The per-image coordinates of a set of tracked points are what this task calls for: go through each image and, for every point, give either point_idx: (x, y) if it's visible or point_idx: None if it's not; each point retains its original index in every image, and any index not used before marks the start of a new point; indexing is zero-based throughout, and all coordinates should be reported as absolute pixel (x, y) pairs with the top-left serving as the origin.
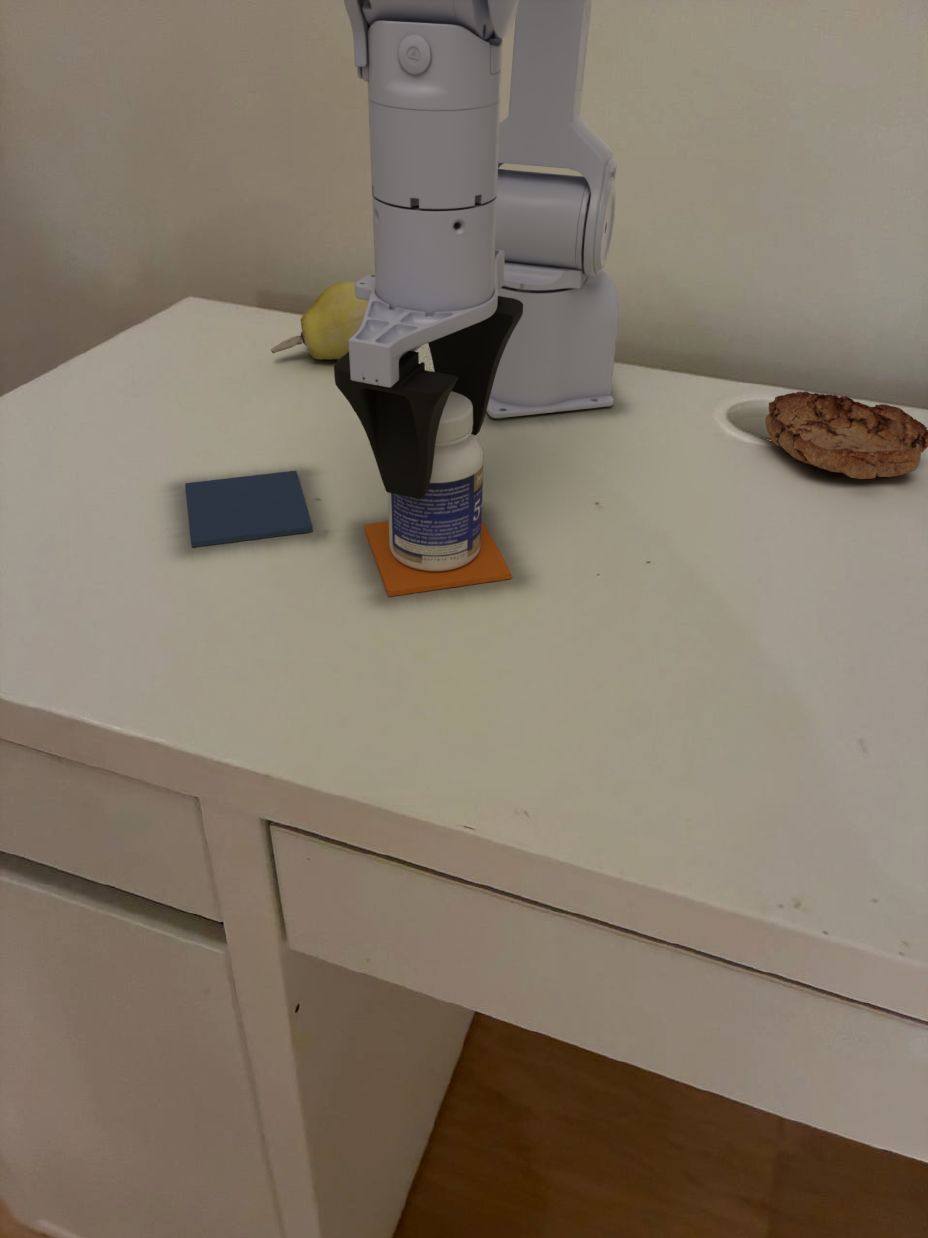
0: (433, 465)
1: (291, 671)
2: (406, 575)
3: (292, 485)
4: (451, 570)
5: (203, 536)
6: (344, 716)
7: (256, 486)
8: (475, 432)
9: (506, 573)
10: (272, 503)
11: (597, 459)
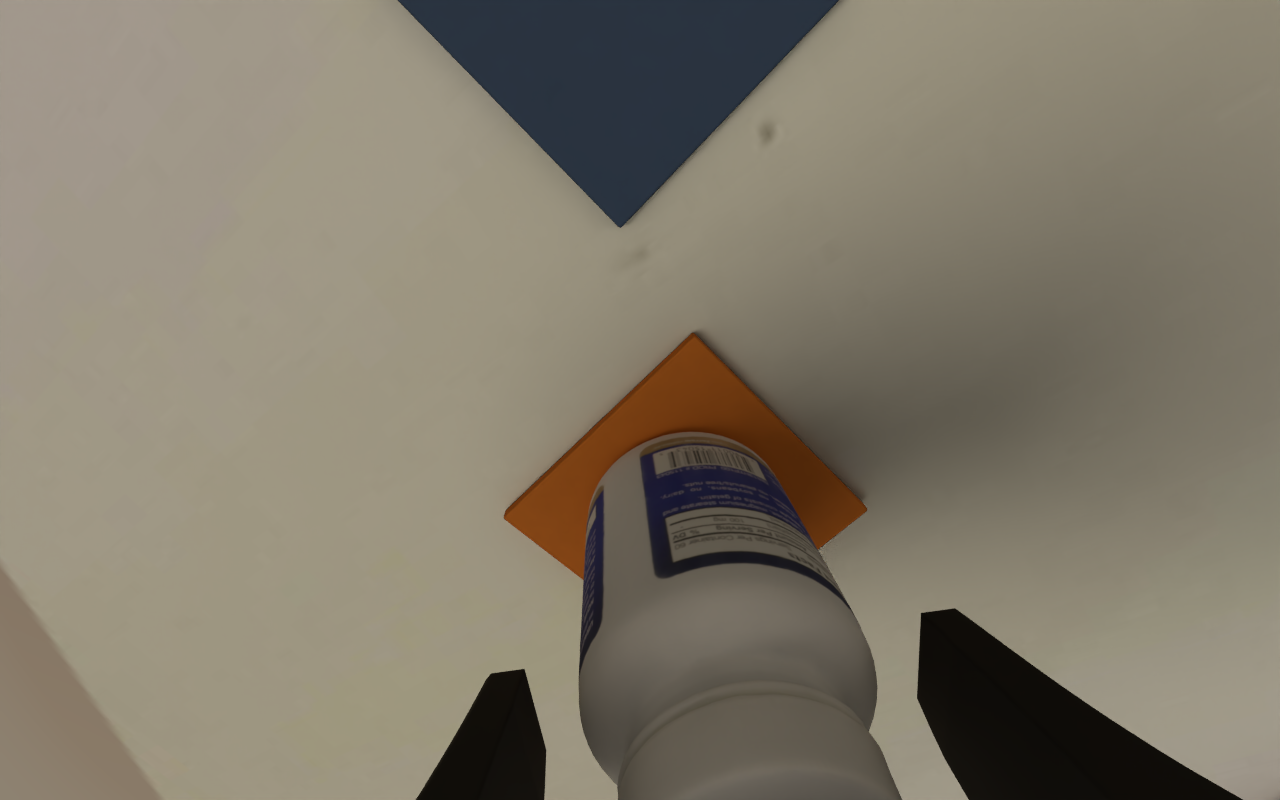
0: (614, 780)
1: (211, 492)
2: (568, 519)
3: (780, 25)
4: None
5: None
6: (200, 618)
7: None
8: (920, 705)
9: None
10: (661, 42)
11: (1181, 591)
